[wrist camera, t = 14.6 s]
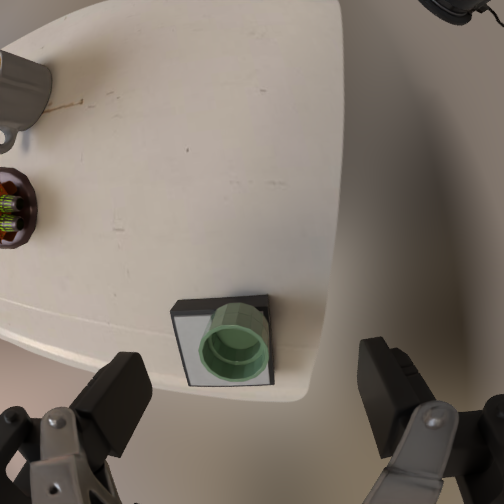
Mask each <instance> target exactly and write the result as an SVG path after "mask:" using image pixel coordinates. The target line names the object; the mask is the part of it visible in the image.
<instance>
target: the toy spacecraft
mask: <svg viewBox="0 0 504 504" xmlns="http://www.w3.org/2000/svg"><path fill="white" fill-rule="evenodd" d="M36 217H37V204H36V198H35V191H34V189H33V188H32V186H31V184H30V182H29V180H28V178H27V176H25V175H24V174H22V173H20V172H19V171H17V170H16V169H14V168H5V167H0V248H1V249H15V248H17V247H19V246H21V245H23V244H25V243H27V242H28V240H29V238H30V236H31V234H32V233H33V231H34V229H35V224H36Z"/></svg>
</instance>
